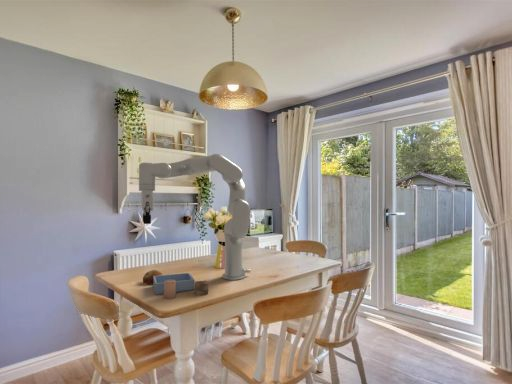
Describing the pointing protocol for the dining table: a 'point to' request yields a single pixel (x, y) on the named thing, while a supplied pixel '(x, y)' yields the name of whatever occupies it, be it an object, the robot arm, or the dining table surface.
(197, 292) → the walnut cube
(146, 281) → the bread roll
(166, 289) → the terracotta cylinder
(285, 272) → the dining table surface
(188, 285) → the tote
